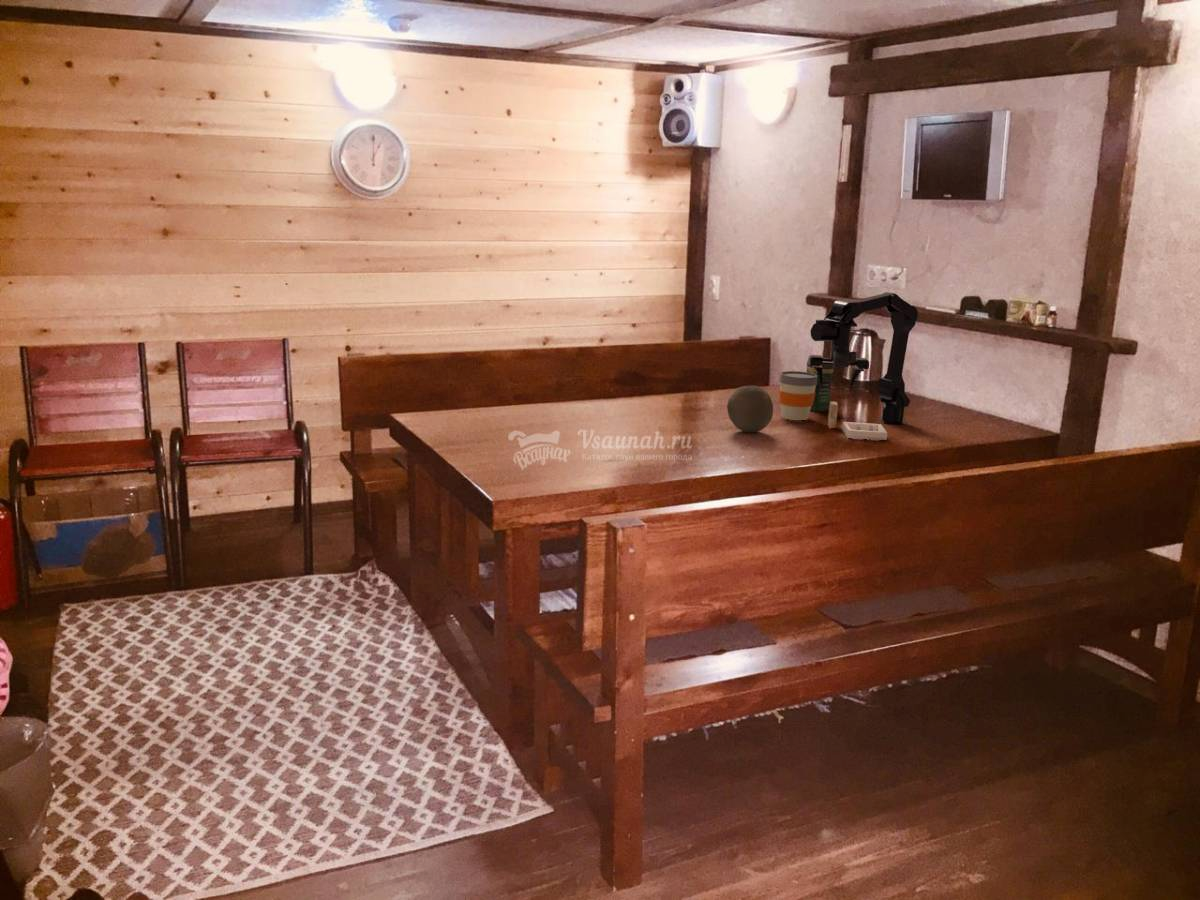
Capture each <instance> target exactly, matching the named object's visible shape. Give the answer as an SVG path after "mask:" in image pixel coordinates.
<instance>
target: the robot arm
mask: <svg viewBox="0 0 1200 900" xmlns="http://www.w3.org/2000/svg"><path fill="white" fill-rule="evenodd" d="M883 308H885V309H886V311H887V312H888V313H889V314H890V324H891V326H892V330H893V332H892V338H891V339H892V340H891V345H890V352H889V357H888V363H887V369H886V373H885V375H884V376H883V377H879V379H878V384H877V387H876V390H877V393H878V396H879V399H880V402H881V403H883V406H882V407H881V412H880V420H881V421H882V422H883V424H889V425H891V424H892V425H905V422H904V421H903V420H904V414H905V408H906V407H907V408H908V407H909V406H910V402H911V400H910V398H909V397H908V395H907V394H906V392H905V390H906V389H905V388H906V384H905V380H904V377H903V371H904V365H905V358H906V353H907V349H908V348H907V346H908V342H909V336H910V332H911V331H912V330H913V328H914V327H915V326H916V323H917V321H918V320H917V319H918V317H919V310H918V309H917V307H916V306H915V305H911V304H910V303H909V302H907V301H906V300H905V299H902V298H901V296H899V295H898V294H897V293H894V292H888V291H885V292H883V293H880V294H877V295H876V294H875V295H872V296H867V297H864V298H859V299H857V300H856V299H854V300H853V299H838V300H835V301H834V302H833V305H832V307H831V308H830V310H829V311H828V312H827V314H826V315H825V317H824V318H823V319H815V322H814V323H813V325H812V326H811V328H810V337H811V339H812V340H813V341H814V342H830V341H831V343H830V355H829V357H828V358H826V357H823V356H822V355H821V354H820V355H819V354H810V355H809V356H808V357H807V361H808V364H809V365H810V366H812V367H813V368H814V369H816V371H817V374H818V378H819V382H820V387H821V388H822V384H823V374H822V371H823V367H822V364H833V367H837V368H838V367H844V368H849V366H852V368H851V375H850V379H849V385H848V386H849V387H848V390H852V388H853V385H854V384H855V382H856V380H857V378H858V376H859V375H860V373H862V372H864V371H865V370H869V369H870V361H869V360H868V359H867V358H865V357H857V351H850V343H851V333H852V328H853V327H855V328H857V327H858V324H857V322H855V319H857V318H858V317H859V316H861V314H863V313H867V312H870V311H875V310H879V309H883Z"/></svg>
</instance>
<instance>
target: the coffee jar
mask: <svg viewBox="0 0 1200 900" xmlns="http://www.w3.org/2000/svg"><path fill="white" fill-rule="evenodd" d="M822 367H823V371H822V374H823V384H822V388H821V387H820V382H819V378H818V374H817V371H816V369H814V368H813V367H812V366H810V365H809V364H808V360H807V362H806V372H808V373H813V374H815V375H817V385H816V387H815V397H814V401H813V405H812V406H811V409H810V411H818V412H826V411H829V407H830V402H831V387H832V386H831V385H832V377H833V372H834V365H833V364H822Z"/></svg>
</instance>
